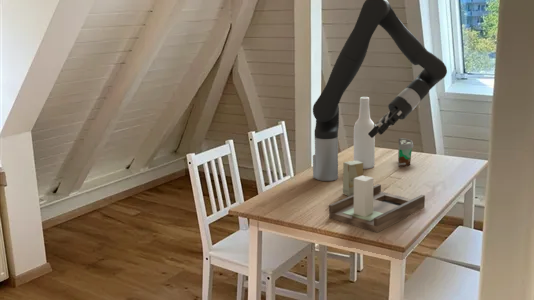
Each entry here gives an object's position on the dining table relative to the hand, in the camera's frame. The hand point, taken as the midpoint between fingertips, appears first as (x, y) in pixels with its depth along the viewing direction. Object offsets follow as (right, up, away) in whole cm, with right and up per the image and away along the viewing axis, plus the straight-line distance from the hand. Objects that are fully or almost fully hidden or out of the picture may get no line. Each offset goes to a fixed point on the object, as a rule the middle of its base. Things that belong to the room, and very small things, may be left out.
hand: (374, 134), depth 197 cm
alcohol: (+4, -13, +46) cm, 48 cm away
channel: (0, -26, -6) cm, 27 cm away
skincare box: (-6, -22, +12) cm, 26 cm away
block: (-6, -26, -13) cm, 30 cm away
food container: (+23, -12, +47) cm, 54 cm away
